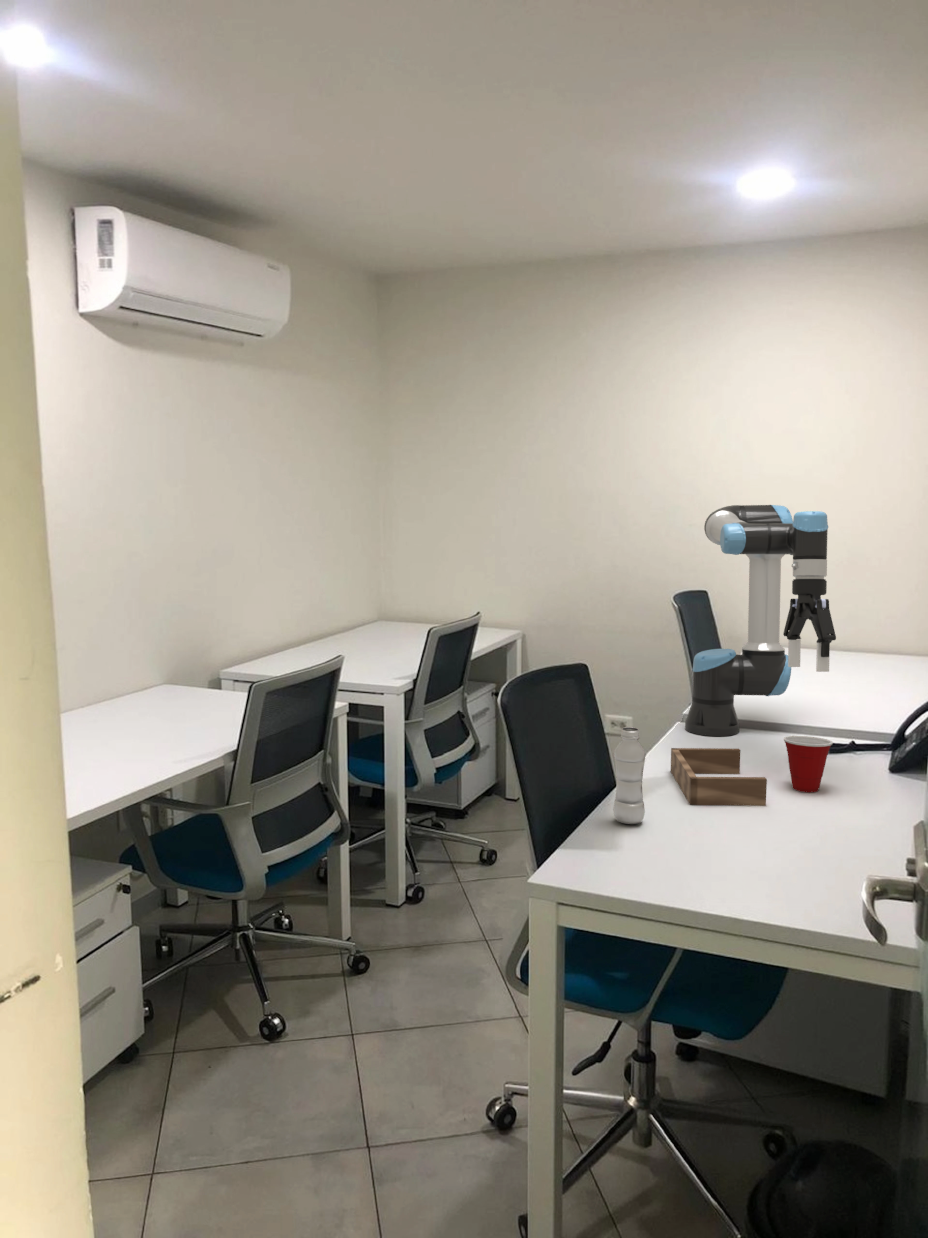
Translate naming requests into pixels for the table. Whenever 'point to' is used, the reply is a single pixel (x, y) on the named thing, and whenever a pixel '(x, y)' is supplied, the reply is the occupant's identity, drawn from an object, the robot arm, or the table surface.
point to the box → (715, 788)
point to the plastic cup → (806, 761)
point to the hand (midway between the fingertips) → (807, 669)
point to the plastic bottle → (629, 778)
